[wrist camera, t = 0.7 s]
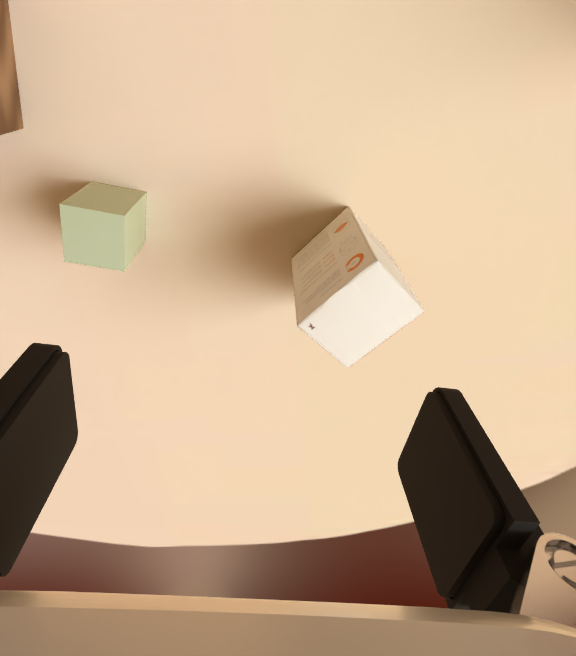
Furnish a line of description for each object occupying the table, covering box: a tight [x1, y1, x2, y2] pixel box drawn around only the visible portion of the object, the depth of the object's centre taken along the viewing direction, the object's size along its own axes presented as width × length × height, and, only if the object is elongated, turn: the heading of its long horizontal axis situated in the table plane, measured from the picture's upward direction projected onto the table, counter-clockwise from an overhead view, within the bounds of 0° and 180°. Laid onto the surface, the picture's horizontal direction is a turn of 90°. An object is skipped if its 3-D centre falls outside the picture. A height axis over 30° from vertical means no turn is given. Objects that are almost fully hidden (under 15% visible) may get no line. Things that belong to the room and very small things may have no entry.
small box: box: [291, 207, 424, 368], centre depth 38 cm, size 8×6×13 cm
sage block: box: [59, 182, 147, 272], centre depth 38 cm, size 5×5×7 cm
